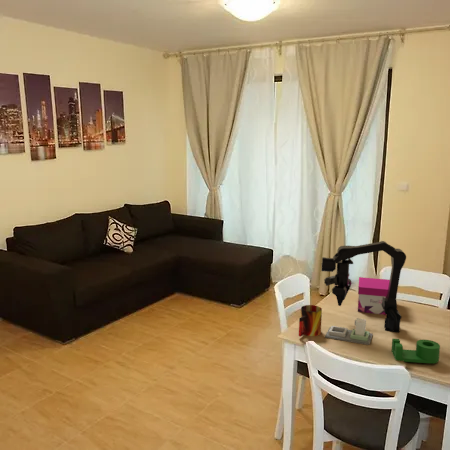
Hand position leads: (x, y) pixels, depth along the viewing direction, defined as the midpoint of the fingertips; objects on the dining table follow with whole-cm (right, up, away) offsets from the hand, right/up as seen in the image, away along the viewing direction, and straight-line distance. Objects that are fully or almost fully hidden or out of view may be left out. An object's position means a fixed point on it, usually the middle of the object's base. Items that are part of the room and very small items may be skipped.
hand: (341, 302), depth 223 cm
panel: (+1, -14, -10) cm, 17 cm away
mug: (-17, -14, -7) cm, 23 cm away
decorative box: (+25, -8, +24) cm, 36 cm away
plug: (+5, -14, -12) cm, 19 cm away
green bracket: (+23, -18, -31) cm, 43 cm away
